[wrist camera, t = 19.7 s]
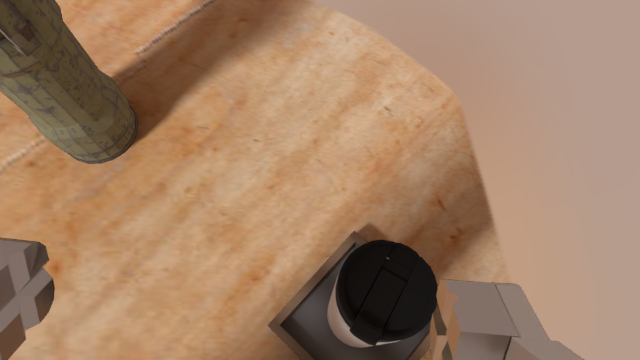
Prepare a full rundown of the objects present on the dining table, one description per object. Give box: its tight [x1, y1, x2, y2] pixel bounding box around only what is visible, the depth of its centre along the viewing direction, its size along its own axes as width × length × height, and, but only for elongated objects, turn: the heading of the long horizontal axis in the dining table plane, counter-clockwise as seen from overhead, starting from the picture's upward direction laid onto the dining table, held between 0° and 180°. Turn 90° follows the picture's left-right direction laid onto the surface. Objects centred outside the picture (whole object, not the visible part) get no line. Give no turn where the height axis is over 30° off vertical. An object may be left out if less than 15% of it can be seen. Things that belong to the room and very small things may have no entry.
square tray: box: [268, 231, 439, 360], centre depth 46 cm, size 13×13×2 cm
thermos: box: [0, 0, 138, 164], centre depth 38 cm, size 9×12×35 cm
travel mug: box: [327, 240, 437, 348], centre depth 37 cm, size 6×7×20 cm
